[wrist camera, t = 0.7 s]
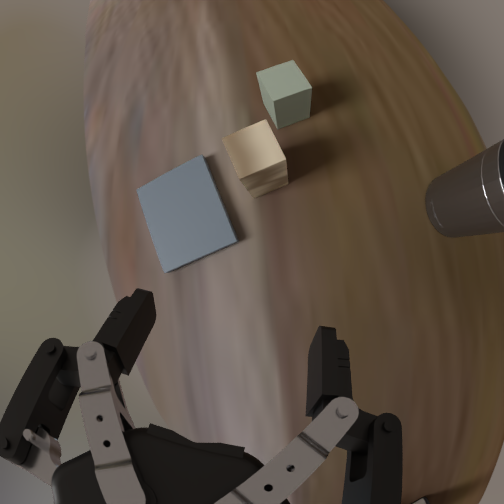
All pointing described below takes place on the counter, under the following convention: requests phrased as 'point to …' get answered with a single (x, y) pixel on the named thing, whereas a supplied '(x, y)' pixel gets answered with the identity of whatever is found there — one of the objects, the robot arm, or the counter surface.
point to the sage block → (285, 93)
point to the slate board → (186, 215)
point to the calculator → (422, 501)
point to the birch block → (257, 158)
